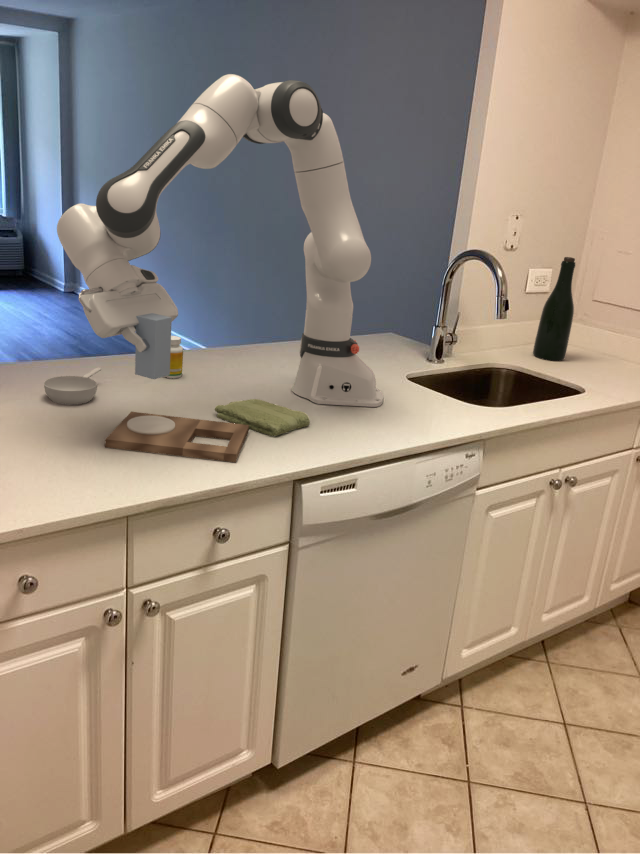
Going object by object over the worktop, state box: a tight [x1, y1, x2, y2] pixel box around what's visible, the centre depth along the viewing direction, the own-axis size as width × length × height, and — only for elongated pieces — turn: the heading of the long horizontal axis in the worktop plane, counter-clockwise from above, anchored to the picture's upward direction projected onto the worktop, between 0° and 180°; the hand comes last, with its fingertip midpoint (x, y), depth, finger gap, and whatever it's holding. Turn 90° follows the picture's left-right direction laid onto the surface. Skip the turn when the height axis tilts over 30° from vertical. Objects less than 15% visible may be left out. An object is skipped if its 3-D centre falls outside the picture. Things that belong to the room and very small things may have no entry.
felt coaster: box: [127, 416, 175, 435], centre depth 140 cm, size 9×9×1 cm
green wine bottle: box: [532, 256, 576, 362], centre depth 237 cm, size 10×10×33 cm
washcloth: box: [214, 398, 311, 437], centre depth 154 cm, size 13×18×3 cm
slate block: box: [134, 313, 173, 380], centre depth 135 cm, size 4×4×11 cm
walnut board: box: [104, 411, 250, 463], centre depth 139 cm, size 24×16×2 cm, turn 87°
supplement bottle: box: [163, 335, 184, 379], centre depth 177 cm, size 5×5×10 cm
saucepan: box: [43, 367, 102, 406], centre depth 158 cm, size 11×18×4 cm, turn 168°
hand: (155, 347), depth 134 cm, fingers closed on slate block, 4 cm apart
